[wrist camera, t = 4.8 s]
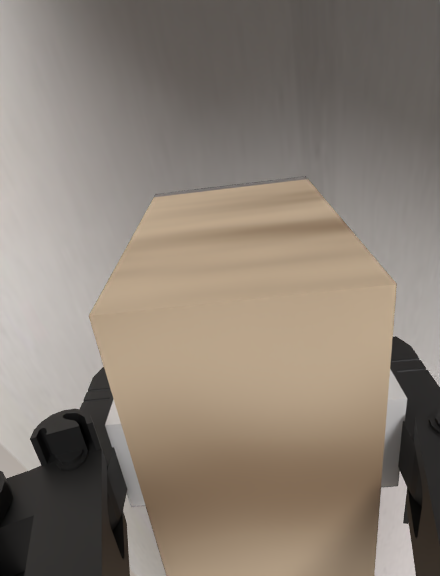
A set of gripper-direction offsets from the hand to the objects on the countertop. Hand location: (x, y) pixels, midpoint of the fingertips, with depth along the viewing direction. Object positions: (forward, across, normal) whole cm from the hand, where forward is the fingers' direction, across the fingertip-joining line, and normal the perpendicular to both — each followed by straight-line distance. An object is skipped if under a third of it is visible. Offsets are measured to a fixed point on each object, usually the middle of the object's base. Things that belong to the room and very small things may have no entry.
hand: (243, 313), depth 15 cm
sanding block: (+1, 0, 0) cm, 1 cm away
